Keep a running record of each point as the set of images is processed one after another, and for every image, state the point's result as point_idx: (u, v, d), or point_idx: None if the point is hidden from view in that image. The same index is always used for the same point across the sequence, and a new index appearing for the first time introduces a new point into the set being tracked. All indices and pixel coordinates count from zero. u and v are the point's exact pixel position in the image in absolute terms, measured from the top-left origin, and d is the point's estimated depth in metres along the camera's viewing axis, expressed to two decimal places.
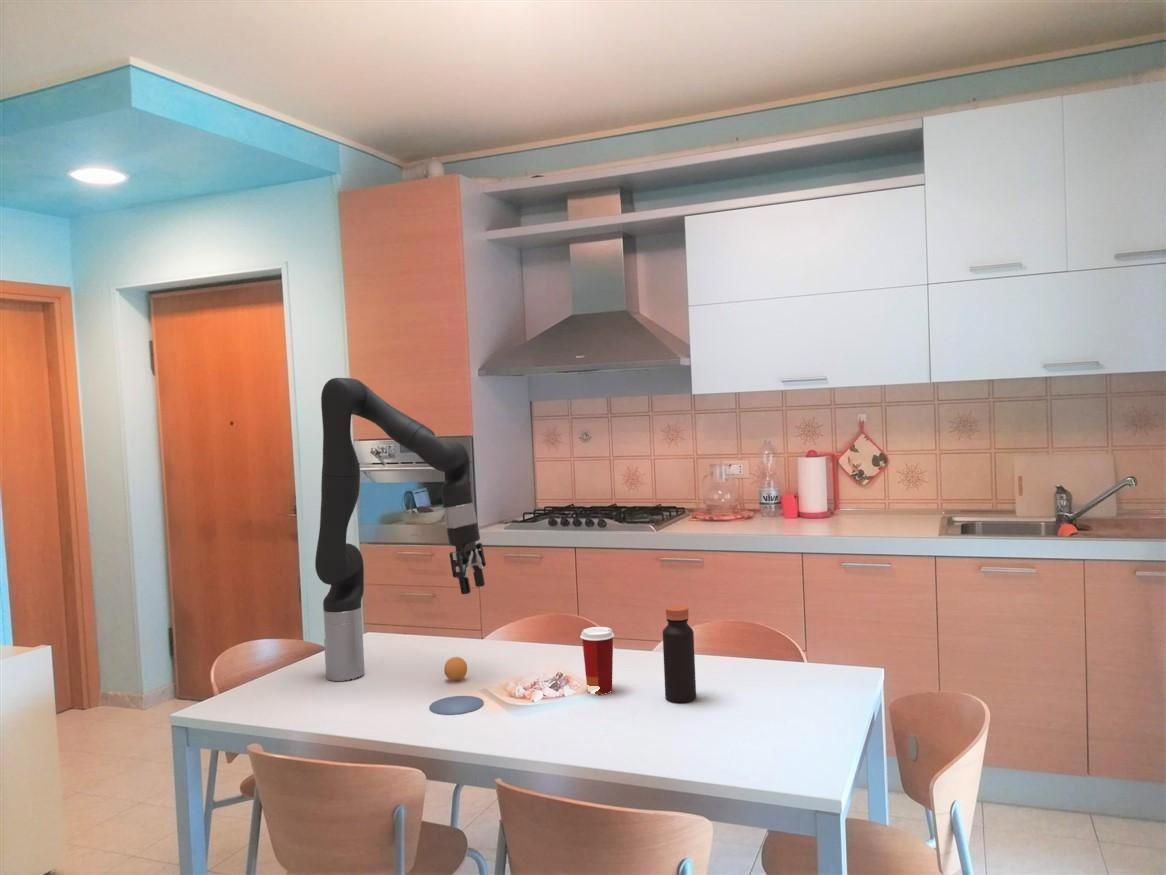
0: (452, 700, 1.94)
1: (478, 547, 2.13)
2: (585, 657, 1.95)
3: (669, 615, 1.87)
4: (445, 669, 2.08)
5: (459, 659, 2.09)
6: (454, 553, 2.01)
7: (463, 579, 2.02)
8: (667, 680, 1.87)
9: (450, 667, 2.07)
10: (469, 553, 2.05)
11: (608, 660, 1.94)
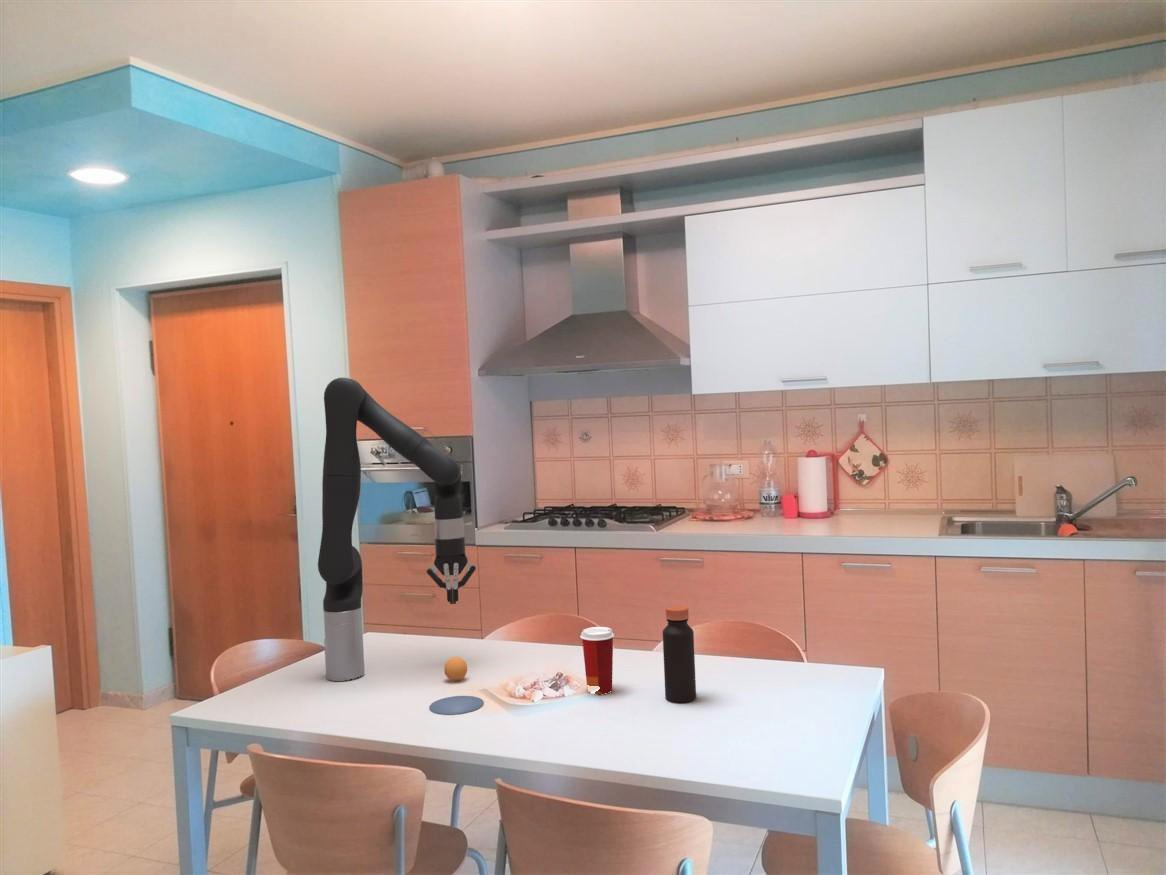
0: (452, 700, 1.94)
1: (470, 568, 2.19)
2: (585, 657, 1.95)
3: (669, 615, 1.87)
4: (445, 669, 2.08)
5: (459, 659, 2.09)
6: None
7: None
8: (667, 680, 1.87)
9: (450, 667, 2.07)
10: (443, 567, 2.17)
11: (608, 660, 1.94)
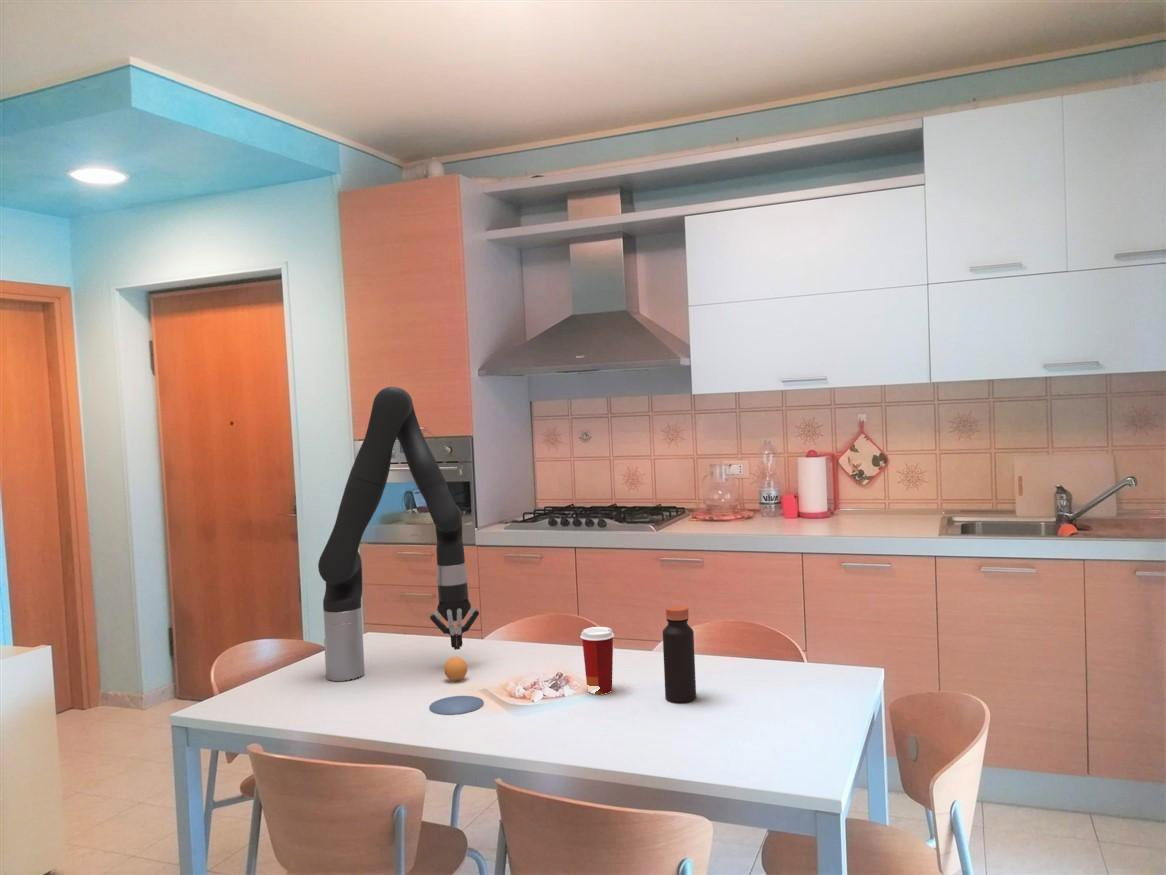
0: (452, 700, 1.94)
1: (473, 613, 2.19)
2: (585, 657, 1.95)
3: (669, 615, 1.87)
4: (445, 669, 2.08)
5: (459, 659, 2.09)
6: (430, 617, 2.19)
7: (450, 635, 2.19)
8: (667, 680, 1.87)
9: (450, 667, 2.07)
10: (447, 613, 2.18)
11: (608, 660, 1.94)
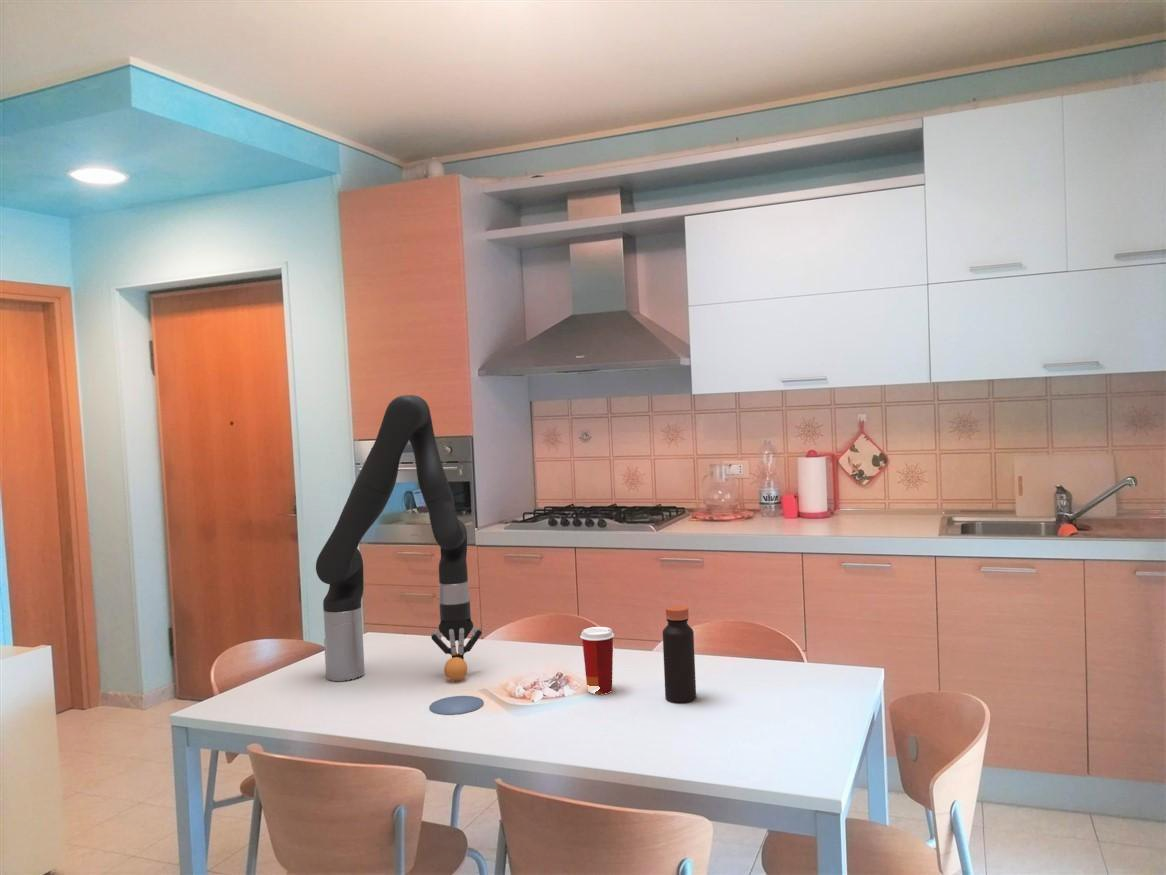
0: (452, 700, 1.94)
1: (476, 632, 2.14)
2: (585, 657, 1.95)
3: (669, 615, 1.87)
4: (445, 669, 2.08)
5: (459, 659, 2.09)
6: None
7: None
8: (667, 680, 1.87)
9: (450, 667, 2.07)
10: (449, 632, 2.12)
11: (608, 660, 1.94)
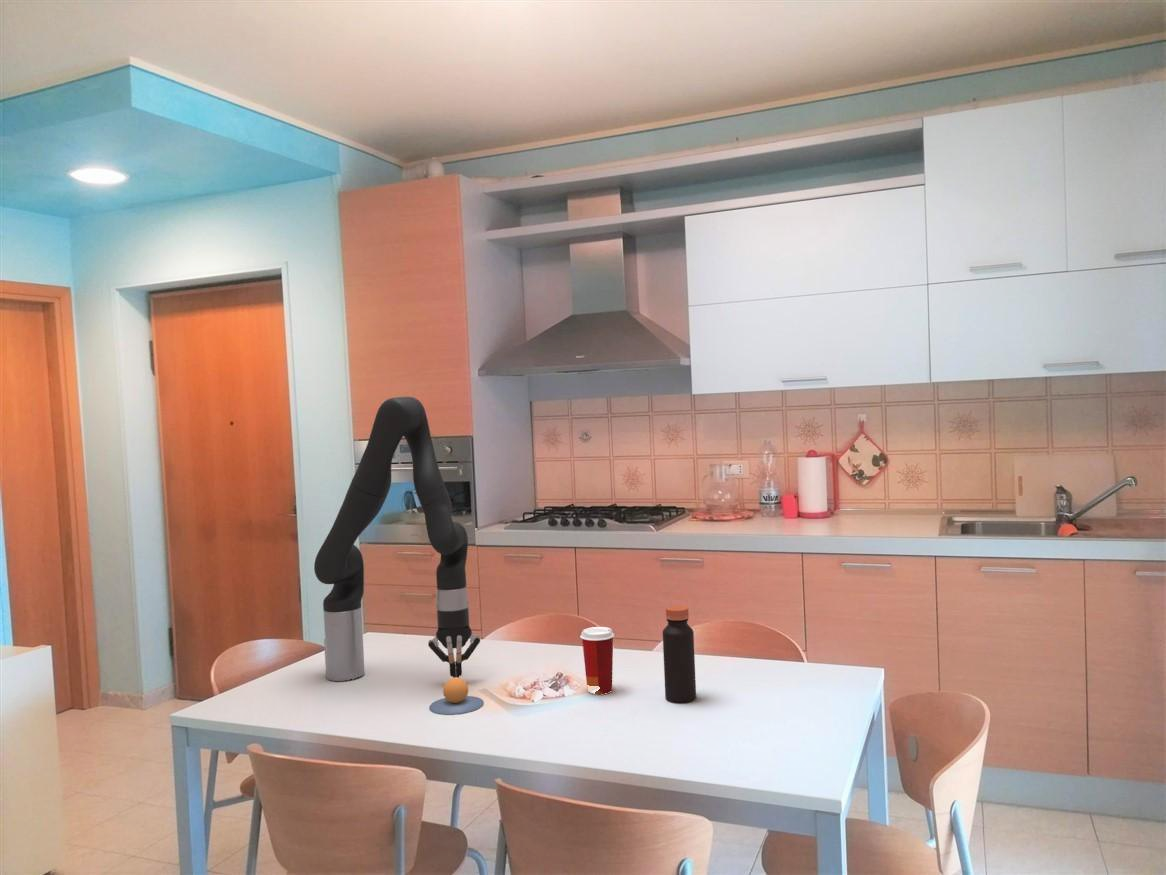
0: None
1: (474, 640, 2.07)
2: (585, 657, 1.95)
3: (669, 615, 1.87)
4: (444, 686, 1.92)
5: None
6: None
7: None
8: (667, 680, 1.87)
9: (450, 681, 1.92)
10: (446, 640, 2.05)
11: (608, 660, 1.94)
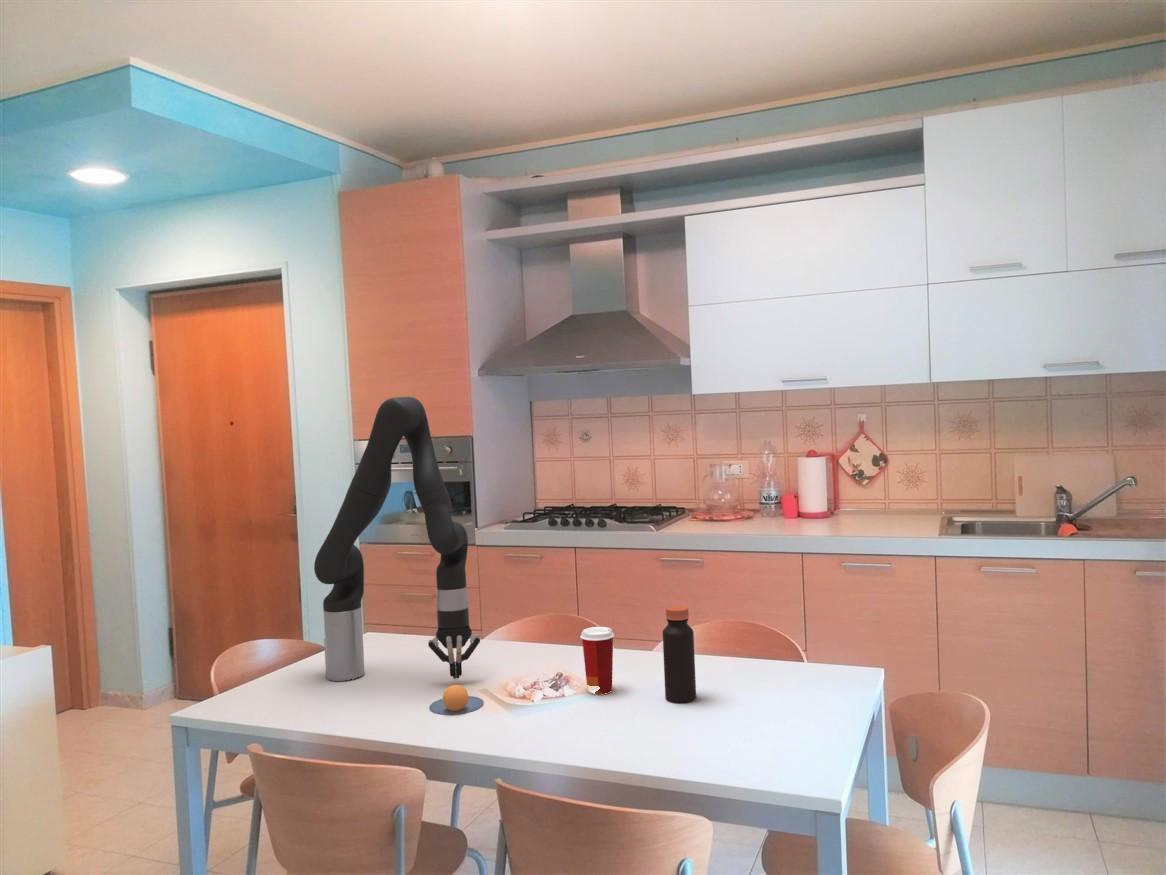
0: None
1: (474, 640, 2.07)
2: (585, 657, 1.95)
3: (669, 615, 1.87)
4: (444, 704, 1.86)
5: (460, 701, 1.85)
6: None
7: None
8: (667, 680, 1.87)
9: (451, 709, 1.86)
10: (446, 640, 2.05)
11: (608, 660, 1.94)
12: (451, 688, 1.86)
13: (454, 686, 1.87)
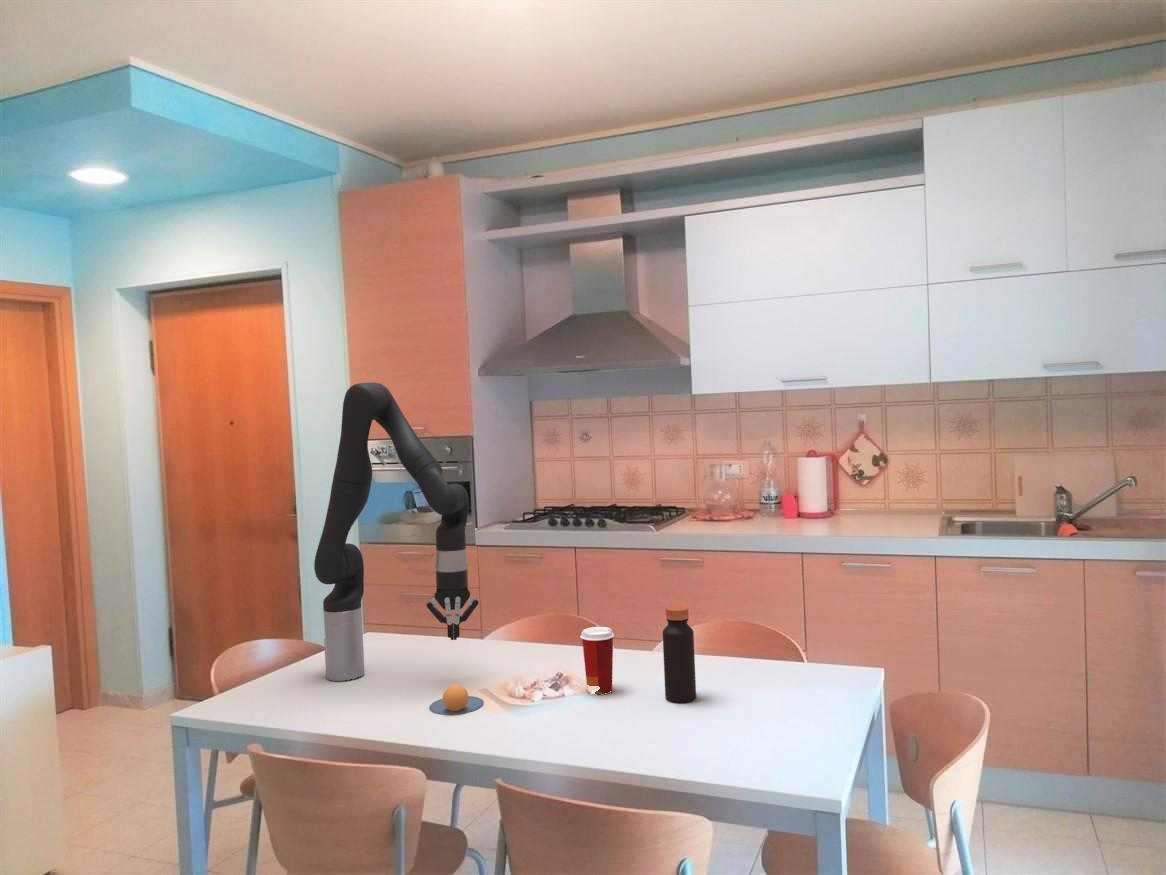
0: None
1: (472, 602, 2.07)
2: (585, 657, 1.95)
3: (669, 615, 1.87)
4: (444, 704, 1.86)
5: (460, 701, 1.85)
6: None
7: (447, 625, 2.06)
8: (667, 680, 1.87)
9: (451, 709, 1.86)
10: (444, 601, 2.05)
11: (608, 660, 1.94)
12: (451, 688, 1.86)
13: (454, 686, 1.87)
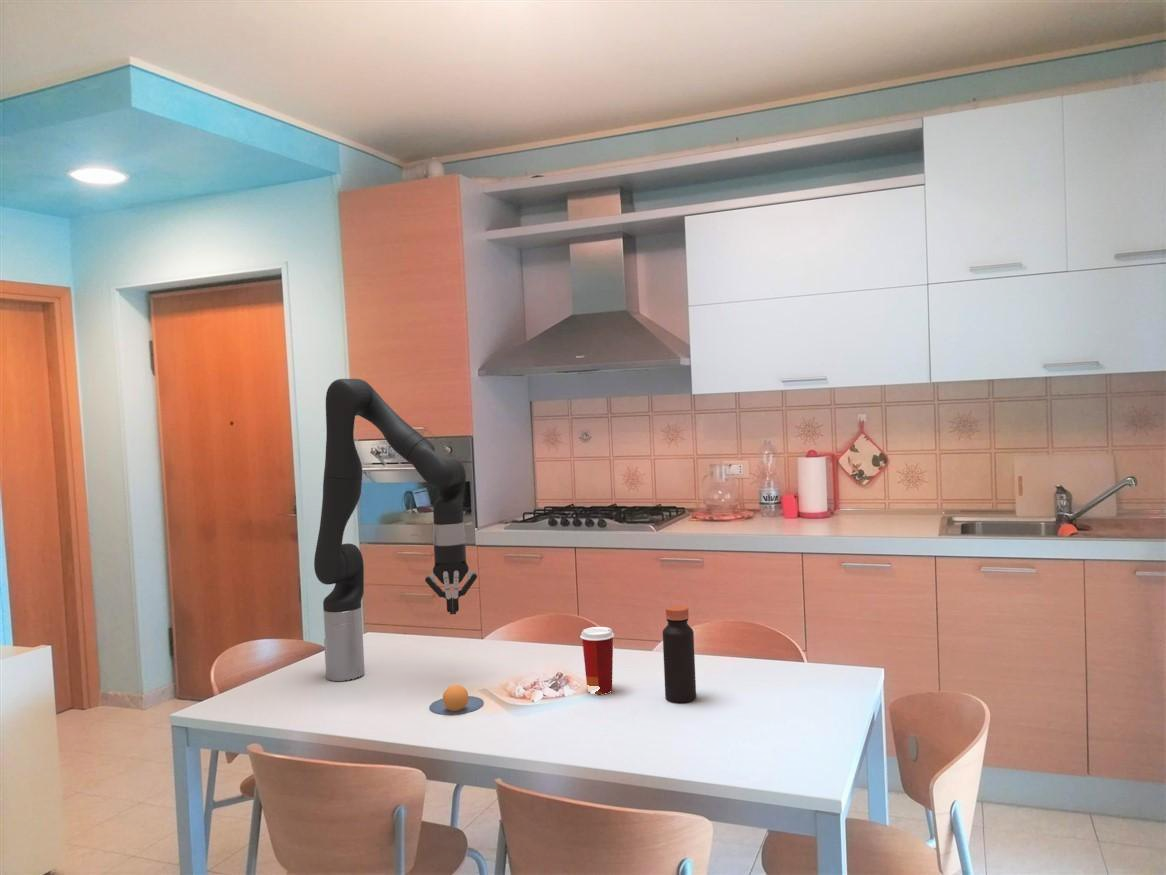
0: None
1: (471, 576, 2.06)
2: (585, 657, 1.95)
3: (669, 615, 1.87)
4: (444, 704, 1.86)
5: (460, 701, 1.85)
6: (425, 579, 2.05)
7: (446, 599, 2.06)
8: (667, 680, 1.87)
9: (451, 709, 1.86)
10: (443, 575, 2.05)
11: (608, 660, 1.94)
12: (451, 688, 1.86)
13: (454, 686, 1.87)
